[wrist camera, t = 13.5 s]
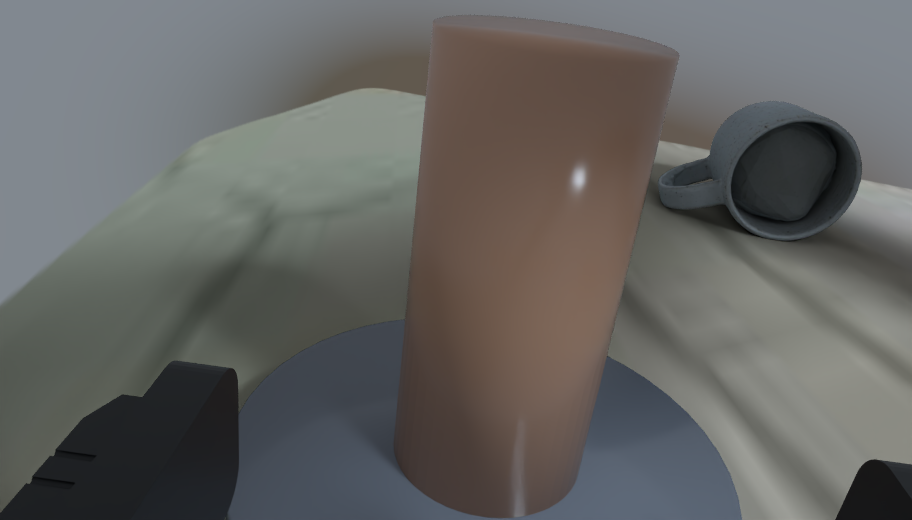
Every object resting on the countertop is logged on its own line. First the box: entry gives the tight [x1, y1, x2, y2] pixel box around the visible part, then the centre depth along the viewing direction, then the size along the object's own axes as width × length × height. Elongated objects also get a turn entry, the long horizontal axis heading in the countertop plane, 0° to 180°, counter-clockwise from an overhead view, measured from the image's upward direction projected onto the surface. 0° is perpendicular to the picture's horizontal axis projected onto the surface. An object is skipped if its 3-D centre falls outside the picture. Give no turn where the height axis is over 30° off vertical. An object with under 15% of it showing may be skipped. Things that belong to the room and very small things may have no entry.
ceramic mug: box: [658, 101, 862, 241], centre depth 46 cm, size 11×8×8 cm
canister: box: [393, 15, 679, 518], centre depth 19 cm, size 6×6×12 cm
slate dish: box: [226, 319, 742, 520], centre depth 22 cm, size 15×15×1 cm
